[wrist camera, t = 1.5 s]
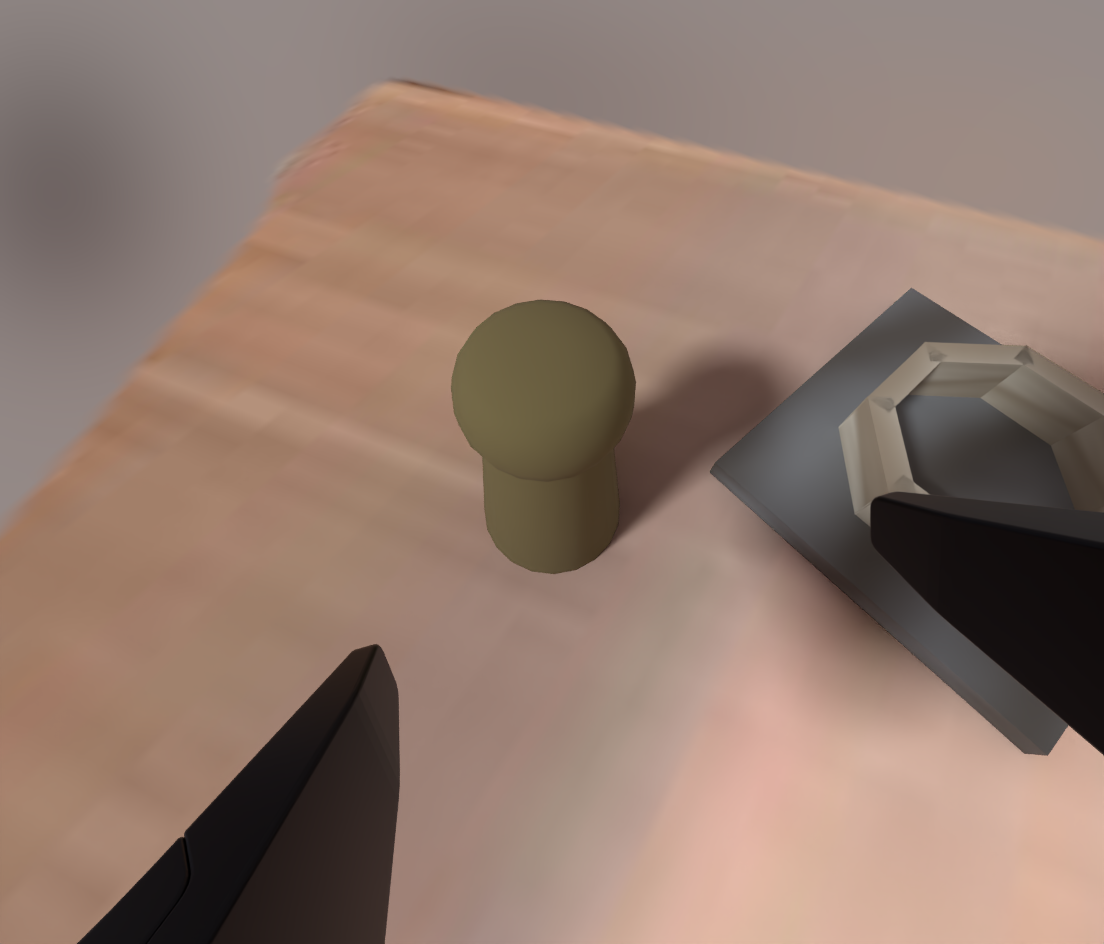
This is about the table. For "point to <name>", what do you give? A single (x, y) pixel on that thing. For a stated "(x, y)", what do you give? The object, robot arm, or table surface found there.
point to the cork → (546, 429)
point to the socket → (923, 472)
